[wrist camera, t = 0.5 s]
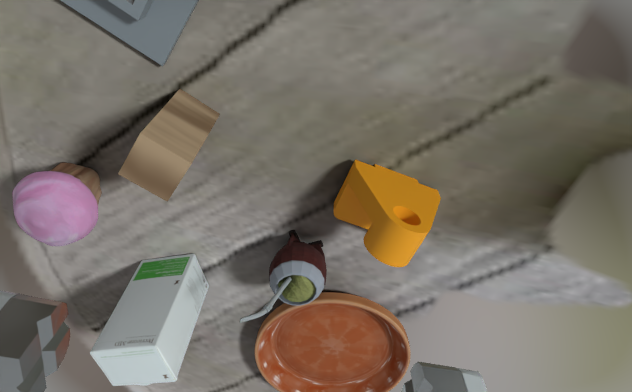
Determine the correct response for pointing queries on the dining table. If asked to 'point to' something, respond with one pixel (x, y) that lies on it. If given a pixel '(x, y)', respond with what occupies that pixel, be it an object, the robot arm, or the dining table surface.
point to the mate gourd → (295, 274)
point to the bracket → (387, 211)
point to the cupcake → (58, 203)
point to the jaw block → (169, 145)
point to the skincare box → (152, 322)
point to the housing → (140, 22)
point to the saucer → (332, 346)
